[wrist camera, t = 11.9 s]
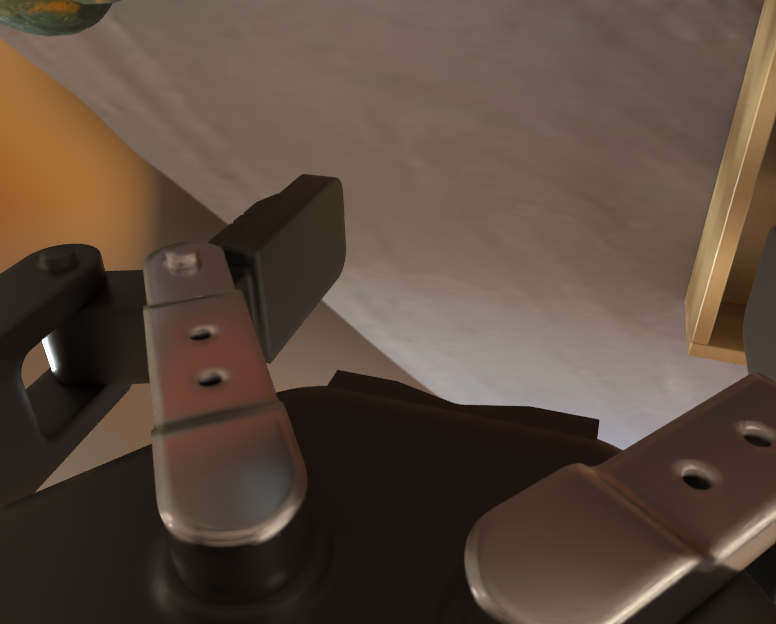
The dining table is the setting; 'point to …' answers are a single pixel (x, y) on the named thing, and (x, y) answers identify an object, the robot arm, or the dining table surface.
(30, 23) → the squash
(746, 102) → the crate
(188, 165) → the dining table surface
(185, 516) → the robot arm
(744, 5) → the dining table surface
